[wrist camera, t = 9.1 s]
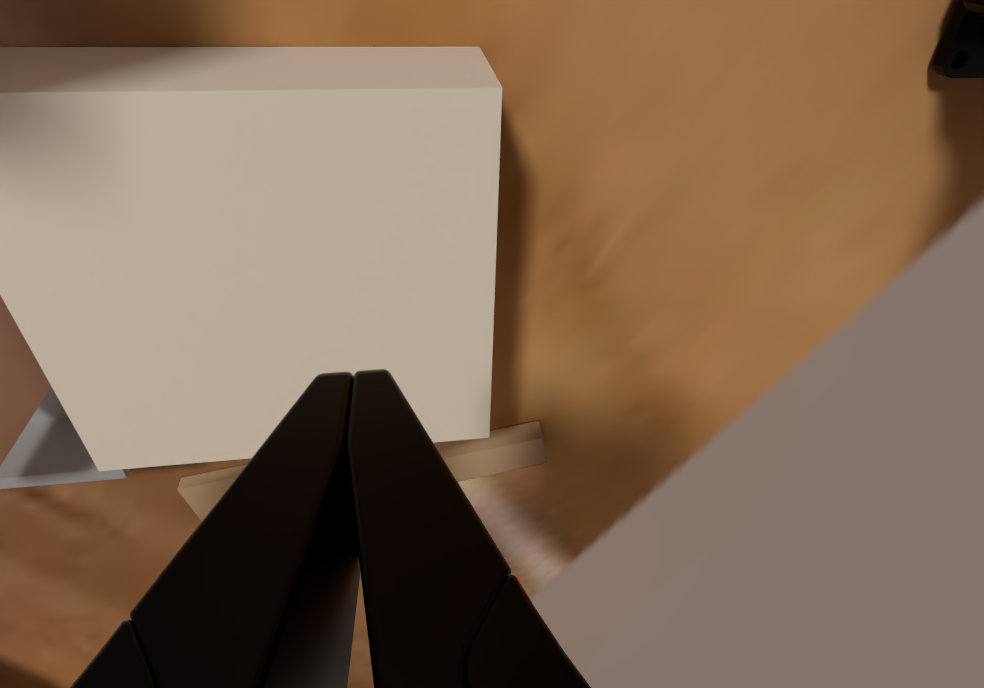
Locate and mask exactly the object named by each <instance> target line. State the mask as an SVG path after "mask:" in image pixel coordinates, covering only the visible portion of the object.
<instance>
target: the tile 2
mask: <svg viewBox="0 0 984 688" xmlns="http://www.w3.org/2000/svg"><path fill="white" fill-rule="evenodd" d="M51 387H52V386H51V385H50V383H49V381H48V379H47V378H46V376H45V374H44V372H43V370H42V369H41V367H40V365H39V363H38V361H37V360H36V358H35V356H34V354H33V353H32V351H31V349H30V347H29V345H28V344H27V342H26V340H25V338H24V336H23V335H22V333H21V331H20V329H19V328H18V326H17V324H16V322H15V320H14V319H13V317H12V315H11V313H10V311H9V310H8V308H7V306H6V304H5V303H4V301H3V299H2V297H1V295H0V466H1V464H2V463H3V461H4V460H5V458H6V457H7V455H8V453H9V452H10V450H11V449H12V447H13V446H14V444H15V443H16V441H17V439H18V438H19V436H20V435H21V433H22V432H23V430H24V429H25V427H26V425H27V424H28V422H29V421H30V419H31V418H32V416H33V415H34V413H35V411H36V410H37V408H38V407H39V405H40V404H41V402H42V401H43V399H44V398H45V396H46V394H47V393H48V391H49V390H50V388H51Z"/></svg>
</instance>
